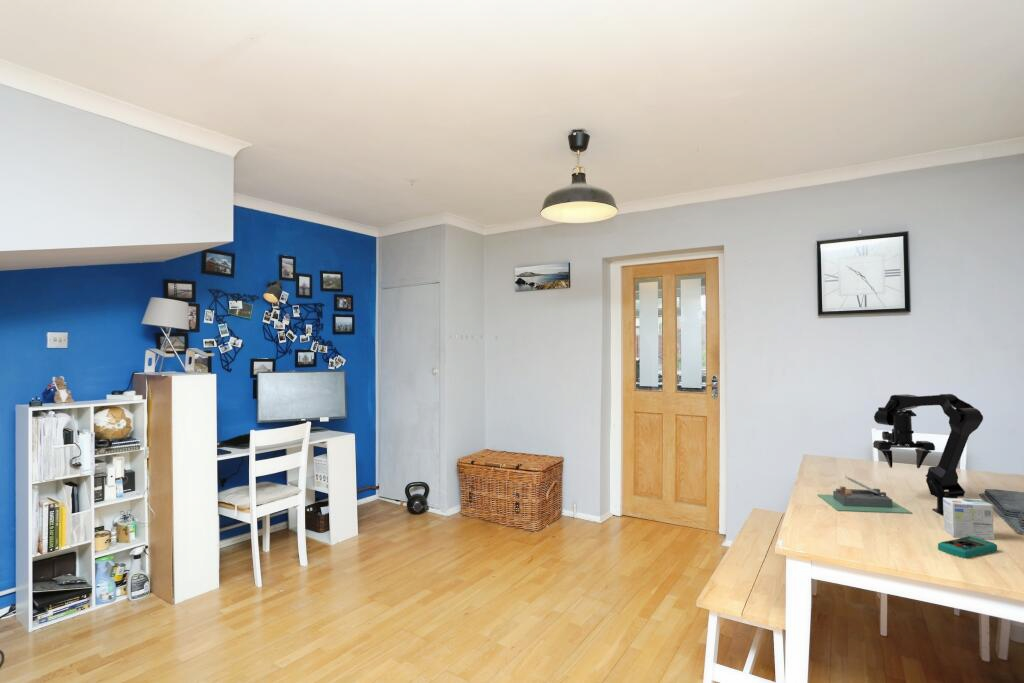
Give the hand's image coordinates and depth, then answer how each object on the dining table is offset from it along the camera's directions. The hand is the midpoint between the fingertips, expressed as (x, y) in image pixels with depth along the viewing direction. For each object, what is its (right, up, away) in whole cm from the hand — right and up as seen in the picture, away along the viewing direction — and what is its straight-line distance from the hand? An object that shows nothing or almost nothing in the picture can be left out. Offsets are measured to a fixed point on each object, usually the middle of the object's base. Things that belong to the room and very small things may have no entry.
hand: (904, 467), depth 204 cm
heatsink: (-19, -13, -4) cm, 23 cm away
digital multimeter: (-18, -13, -49) cm, 54 cm away
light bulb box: (-7, -13, -37) cm, 40 cm away
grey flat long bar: (-19, -6, -4) cm, 21 cm away
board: (-19, -13, -4) cm, 23 cm away
